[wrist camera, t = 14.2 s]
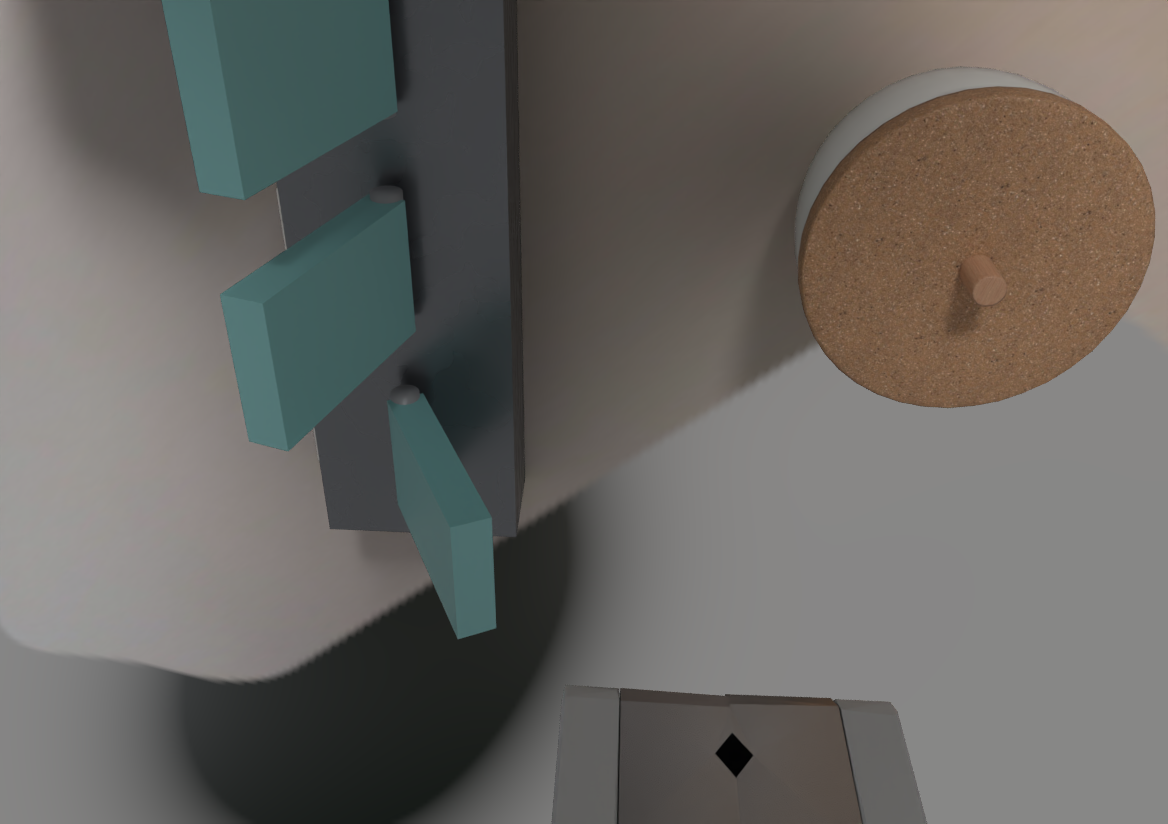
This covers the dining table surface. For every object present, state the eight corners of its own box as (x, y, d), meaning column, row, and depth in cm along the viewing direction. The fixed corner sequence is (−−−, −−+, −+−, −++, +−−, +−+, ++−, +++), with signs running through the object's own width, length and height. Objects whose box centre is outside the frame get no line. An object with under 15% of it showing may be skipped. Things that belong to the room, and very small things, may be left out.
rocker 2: (376, 182, 35) (218, 288, 29) (412, 189, 35) (261, 297, 28) (389, 322, 38) (250, 446, 32) (423, 329, 38) (289, 457, 31)
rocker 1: (351, -73, 31) (157, -19, 24) (392, -70, 30) (207, -14, 24) (368, 107, 34) (201, 199, 27) (406, 112, 33) (245, 207, 27)
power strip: (251, -197, 33) (205, -189, 29) (514, -191, 33) (500, -182, 29) (344, 472, 48) (321, 530, 44) (525, 479, 47) (517, 538, 44)
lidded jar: (1128, 79, 36) (1261, 176, 28) (981, 333, 42) (1059, 472, 34) (844, -11, 35) (902, 64, 27) (733, 263, 41) (755, 391, 33)
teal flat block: (382, 388, 39) (449, 523, 33) (418, 381, 40) (491, 512, 33) (394, 500, 42) (458, 643, 36) (427, 492, 43) (496, 631, 36)
